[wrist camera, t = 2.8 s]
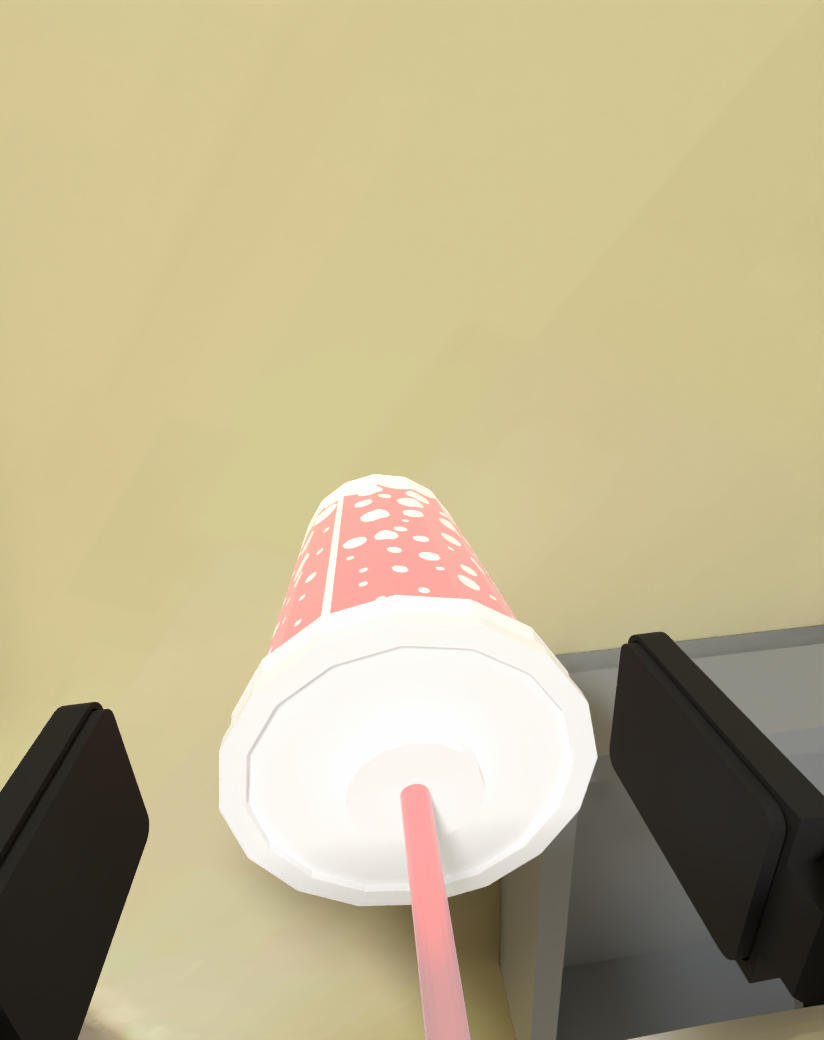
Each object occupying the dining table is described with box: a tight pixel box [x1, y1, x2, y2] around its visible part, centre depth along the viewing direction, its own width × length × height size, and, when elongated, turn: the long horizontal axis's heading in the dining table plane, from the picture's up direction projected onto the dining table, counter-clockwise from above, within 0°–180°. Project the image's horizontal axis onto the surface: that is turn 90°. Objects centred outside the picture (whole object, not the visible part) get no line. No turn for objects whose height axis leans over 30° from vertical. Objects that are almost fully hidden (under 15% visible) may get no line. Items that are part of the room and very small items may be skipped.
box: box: [499, 625, 824, 1040], centre depth 21 cm, size 18×18×4 cm
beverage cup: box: [219, 474, 597, 1040], centre depth 11 cm, size 6×6×14 cm
